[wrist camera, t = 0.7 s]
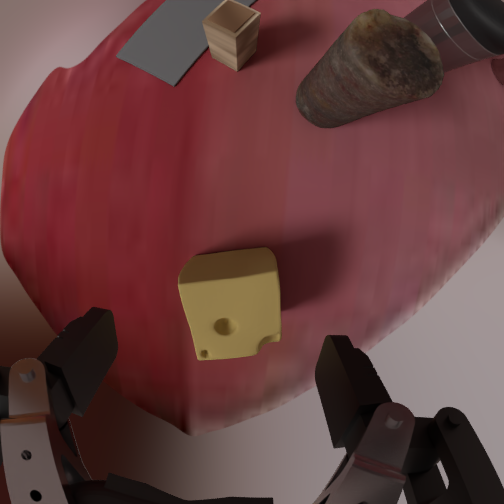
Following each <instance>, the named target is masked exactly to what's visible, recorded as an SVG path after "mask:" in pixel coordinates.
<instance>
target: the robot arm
mask: <svg viewBox="0 0 504 504" xmlns="http://www.w3.org/2000/svg"><path fill="white" fill-rule="evenodd" d="M404 18H405V19H407V20H408V21H410V22H412V23H414V24H416V25H417V26H418V27H419V28H420V29H421V30H422V31H423V32H424V33H426V34H427V35H428V36H429V37H430V38H431V40H432V41H433V43H434V44H435V46H436V47H437V49H438V51H439V53H440V58H441V61H442V65H443V72H447V71H450V70H453V69H456V68H459V67H462V66H465V65H468V64H471V63H474V62H477V61H480V60H483V59H487V58H490V57H494V56H497V55H501V54H504V2H502V1H501V0H427V1H425V2H424V3H423V4H421V5H420V6H419V7H417V8H416V9H415V10H413V11H412V12H411V13H409V14H408V15H407V16H405V17H404ZM117 351H118V342H117V336H116V330H115V324H114V317H113V313H112V311H111V310H107V309H102V308H97V307H92V308H91V309H90V310H89V311H88V312H87V313H86V314H85V315H84V316H83V317H79V318H77V319H75V320H73V321H71V322H70V323H69V324H68V325H67V326H66V327H65V328H64V329H63V332H62V331H61V332H60V334H59V335H58V336H57V338H55V339H54V340H53V341H52V342H51V343H50V345H49V346H48V347H47V348H46V349H45V350H44V351H43V352H42V354H41V355H40V356H39V357H38V358H37V359H33V358H26V359H22V360H20V361H18V362H16V363H15V364H14V365H13V366H12V367H11V368H10V367H3V366H0V466H1V464H2V462H4V468H5V475H6V481H7V486H8V491H9V495H10V499H11V503H12V504H273V498H248V497H226V498H217V499H207V500H193V501H188V500H183V499H180V498H178V497H175V496H173V495H171V494H168V493H166V492H163V491H161V490H159V489H157V488H155V487H152V486H150V485H148V484H146V483H142V482H138V481H135V480H131V479H128V478H124V477H121V476H118V475H115V474H112V473H109V474H108V477H107V480H92V479H91V477H90V475H89V474H88V472H87V470H86V468H85V466H84V464H83V462H82V459H81V457H80V453H79V450H78V447H77V444H76V441H75V437H74V434H73V430H72V427H71V423H70V420H69V416H70V414H71V412H72V413H74V414H77V415H79V416H82V417H83V415H84V413H85V411H86V409H87V407H88V405H89V404H90V402H91V400H92V398H93V396H94V395H95V393H96V391H97V389H98V387H99V386H100V384H101V382H102V380H103V379H104V377H105V375H106V373H107V372H108V370H109V368H110V367H111V365H112V363H113V361H114V360H115V358H116V355H117ZM315 381H316V385H317V388H318V392H319V395H320V399H321V403H322V406H323V410H324V413H325V417H326V421H327V425H328V428H329V432H330V436H331V440H332V443H333V447H334V448H341V447H345V448H346V452H347V453H346V455H345V456H344V458H343V459H342V461H341V463H340V464H339V466H338V468H337V469H336V471H335V473H334V474H333V476H332V478H331V479H330V481H329V482H328V484H327V485H326V487H325V488H324V490H323V491H322V493H321V494H320V495H319V497H318V498H317V499H316V501H315V502H314V503H313V504H397V502H398V500H399V497H400V494H401V492H402V489H403V490H404V493H405V497H406V500H407V504H504V488H503V486H502V484H501V481H500V479H499V477H498V475H497V473H496V471H495V469H494V467H493V465H492V463H491V461H490V459H489V457H488V455H487V453H486V451H485V449H484V447H483V445H482V444H481V442H480V440H479V438H478V436H477V435H476V433H475V431H474V429H473V428H472V426H471V424H470V422H469V421H468V419H467V417H466V416H465V415H464V414H463V413H462V412H461V411H460V410H458V409H456V408H453V407H445V408H442V409H440V410H439V411H438V413H437V414H436V415H435V417H434V418H424V417H414V415H413V414H412V412H411V411H410V410H409V409H408V408H407V407H405V406H404V405H402V404H399V403H394V402H392V400H391V398H390V396H389V394H388V392H387V390H386V389H385V387H384V385H383V383H382V381H381V380H380V377H379V376H378V375H377V372H376V370H375V368H373V365H372V363H371V361H370V359H369V357H368V356H367V355H366V354H365V353H364V352H362V351H361V350H360V349H359V348H354V347H353V345H352V343H351V341H350V339H349V337H348V336H346V335H327V336H326V338H325V340H324V343H323V346H322V349H321V353H320V356H319V359H318V362H317V365H316V369H315ZM440 460H441V463H442V465H443V467H444V470H445V472H446V475H447V477H448V480H449V485H448V489H446V487H445V484H444V481H443V479H442V476H441V474H440V471H439V469H438V466H437V463H438V462H439V461H440Z"/></svg>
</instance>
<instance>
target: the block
mask: <svg viewBox="0 0 504 504" xmlns="http://www.w3.org/2000/svg"><path fill="white" fill-rule="evenodd" d="M260 15H261V13H259V12H257V11H255V10H253V9H251V8H249V7H247V6H245V5H243V4H241V3H239V2H236V1H234V0H224V1H223V2H222V3H221V4H220V5H219V6H217V7H216V8H215V9H214V10H213V11H212V12H211V13H210V14H209V15H208V16H207V17H206V18H205V19H204V20H203V21H202V23H203V27H204V30H205V34H206V37H207V41H208V44H209V48H210V52H211V55H212V58H214V59H216V60H218V61H219V62H221V63H223V64H225V65H227V66H228V67H230V68H232V69H234V70H235V71H237V72H238V71H239V69H240V68H241V67H242V66H243V65H244V64H245V63H246V62H247V60H248V59H249V58H250V57H251V56H252V55H253V54H254V53H255V52H256V48H257V39H258V31H259V23H260Z"/></svg>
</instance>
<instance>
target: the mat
mask: <svg viewBox="0 0 504 504" xmlns="http://www.w3.org/2000/svg"><path fill="white" fill-rule="evenodd" d="M223 1H224V0H166V1H165V2H164V3H163V4H162V5H161V6H160V7H159V8H158V9H157V10H156V11H155V12H154V13H153V14H152V15H151V16H150V17H149V18H148V19H147V20H146V21H145V22H144V23H143V24H142V26H141V27H140V28H139V29H138V30H137V31H136V32H135V33H134V35H133V36H132V37H131V38H130V39H129V40H128V42H127V43H126V44H125V45H124V47H123V48H122V49H121V50H120V52H119V53H118V54H117V55H116V57H117V58H119V59H122V60H124V61H126V62H128V63H130V64H132V65H134V66H136V67H138V68H140V69H142V70H144V71H146V72H148V73H150V74H152V75H154V76H156V77H157V78H159V79H161V80H163V81H165V82H167V83H168V84H170V85H172V86H174V87H175V86H176V84H177V83H178V82H179V80H180V79H181V78H182V77H183V75H184V74H185V73H186V72H187V71H188V69H189V68H190V67H191V66H192V65H193V63H194V62H195V61H196V60H197V59H198V58H199V57H200V55H201V54H202V53H203V52H204V51H205V50H206V49H207V48H208V47H209V44H208V41H207V37H206V34H205V30H204V27H203V23H202V21H203V20H204V19H205V18H206V17H207V16H208V15H209V14H210V13H211V12H212V11H213V10H214V9H215V8H216V7H217V6H219V5H220V4H221V3H222V2H223ZM234 1H236V2H239V3H241V4H243V5H245V6H247V7H249V6H250V5H251V4H253V3H254V2H255V1H256V0H234Z"/></svg>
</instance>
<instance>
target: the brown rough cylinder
mask: <svg viewBox="0 0 504 504" xmlns="http://www.w3.org/2000/svg"><path fill="white" fill-rule="evenodd" d="M443 77H444V72H443V65H442V61H441V58H440V53H439V51H438V49H437V47H436V46H435V44H434V43H433V41H432V40H431V38H430V37H429V36H428V35H427V34H426V33H424V32H423V31H422V30H421V29H420V28H419V27H418V26H417V25H416V24H414V23H412V22H410V21H408V20H407V19H405V18H400V17H397V16H394V15H390V14H389V13H388V12H386V11H385V10H380V9H372V10H369V11H367V12H364V13H361V14H360V15H359V16H358V17H356V18H355V19H354V20H353V21H352V23H351V24H350V25H349V26H348V27H347V28H346V30H345V31H344V32H343V33H342V34H341V35H340V36H339V38H338V39H337V40H336V41H335V42H334V43H333V45H332V46H331V47H330V48H329V50H328V51H327V52H326V53H325V55H324V56H323V57H322V58H321V59H320V60H319V62H318V63H317V64H316V65H315V66H314V68H313V69H312V70H311V71H310V72H309V74H308V75H307V76H306V77H305V78H304V80H303V81H302V82H301V84H300V85H299V87H298V90H297V94H296V104H297V107H298V109H299V111H300V113H301V115H302V116H303V117H304V118H305V119H307V120H308V121H309V122H310V123H312V124H313V125H315V126H318V127H320V128H334V127H338V126H341V125H344V124H347V123H349V122H352V121H354V120H357V119H360V118H362V117H365V116H368V115H371V114H373V113H376V112H379V111H383V110H386V109H389V108H392V107H396V106H399V105H402V104H407V103H410V102H413V101H417V100H420V99H424V98H427V97H430V96H432V95H433V94H434V93H435V92H436V91H437V90H438V89H439V87H440V85H441V84H442V80H443Z"/></svg>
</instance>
